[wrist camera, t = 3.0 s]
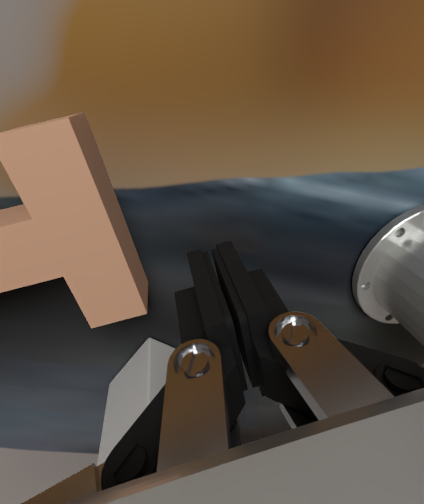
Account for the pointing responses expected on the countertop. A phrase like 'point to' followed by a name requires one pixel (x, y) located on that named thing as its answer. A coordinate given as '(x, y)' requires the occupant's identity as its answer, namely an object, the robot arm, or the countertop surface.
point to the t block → (68, 221)
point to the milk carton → (133, 392)
